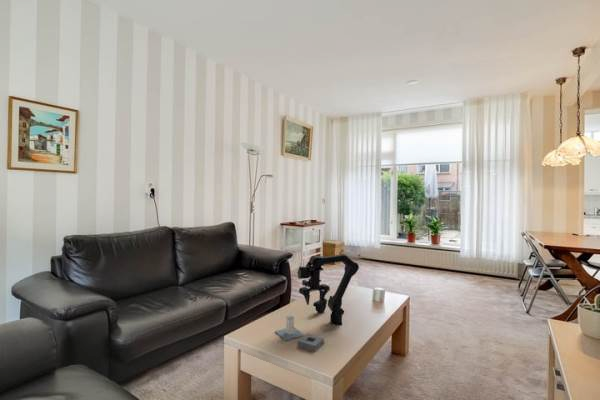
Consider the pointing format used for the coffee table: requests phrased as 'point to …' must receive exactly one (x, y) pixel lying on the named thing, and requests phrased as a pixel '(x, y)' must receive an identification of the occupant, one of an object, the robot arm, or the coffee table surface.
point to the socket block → (310, 342)
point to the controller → (320, 305)
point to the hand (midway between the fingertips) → (314, 303)
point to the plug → (289, 325)
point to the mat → (287, 337)
